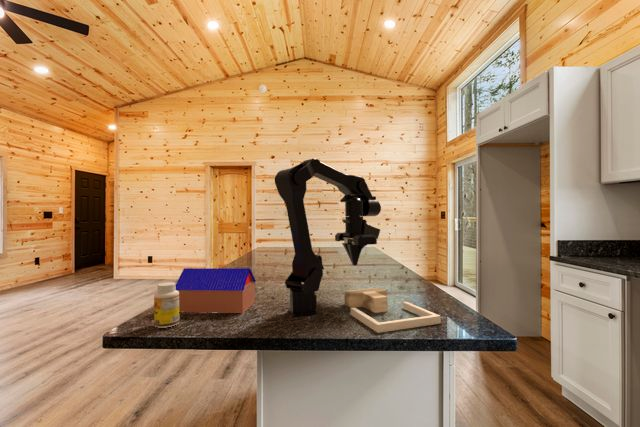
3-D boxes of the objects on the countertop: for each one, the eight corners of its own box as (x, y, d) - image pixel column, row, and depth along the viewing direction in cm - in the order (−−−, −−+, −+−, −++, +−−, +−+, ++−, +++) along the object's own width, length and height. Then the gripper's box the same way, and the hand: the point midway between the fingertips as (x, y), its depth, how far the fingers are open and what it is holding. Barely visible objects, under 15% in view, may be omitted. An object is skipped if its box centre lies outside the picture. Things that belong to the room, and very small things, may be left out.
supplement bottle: (155, 323, 80) (155, 282, 80) (179, 320, 82) (179, 280, 82) (153, 331, 75) (152, 287, 75) (179, 327, 77) (178, 284, 77)
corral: (377, 332, 72) (377, 324, 72) (350, 314, 85) (350, 308, 85) (440, 323, 78) (440, 315, 78) (406, 307, 91) (406, 301, 91)
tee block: (344, 304, 95) (344, 291, 95) (379, 300, 99) (379, 287, 100) (361, 314, 85) (361, 299, 85) (400, 309, 89) (399, 295, 89)
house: (243, 315, 87) (243, 272, 87) (173, 314, 88) (172, 271, 89) (256, 303, 99) (255, 265, 99) (193, 302, 100) (193, 265, 100)
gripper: (392, 216, 96) (392, 268, 96) (363, 216, 114) (363, 260, 114) (358, 216, 93) (359, 270, 92) (334, 216, 110) (334, 262, 110)
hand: (354, 265), depth 102 cm, fingers closed
